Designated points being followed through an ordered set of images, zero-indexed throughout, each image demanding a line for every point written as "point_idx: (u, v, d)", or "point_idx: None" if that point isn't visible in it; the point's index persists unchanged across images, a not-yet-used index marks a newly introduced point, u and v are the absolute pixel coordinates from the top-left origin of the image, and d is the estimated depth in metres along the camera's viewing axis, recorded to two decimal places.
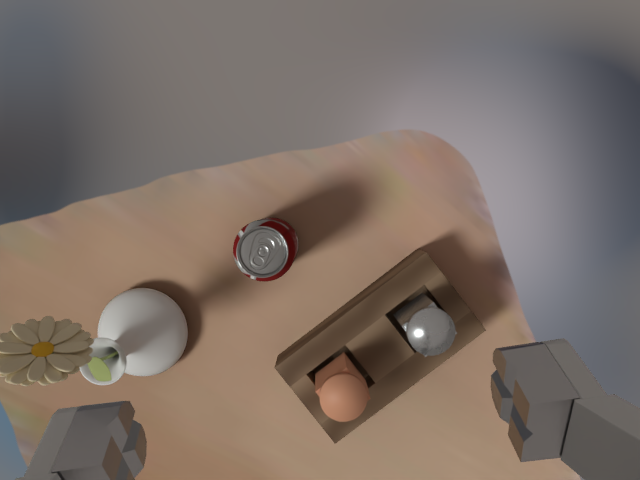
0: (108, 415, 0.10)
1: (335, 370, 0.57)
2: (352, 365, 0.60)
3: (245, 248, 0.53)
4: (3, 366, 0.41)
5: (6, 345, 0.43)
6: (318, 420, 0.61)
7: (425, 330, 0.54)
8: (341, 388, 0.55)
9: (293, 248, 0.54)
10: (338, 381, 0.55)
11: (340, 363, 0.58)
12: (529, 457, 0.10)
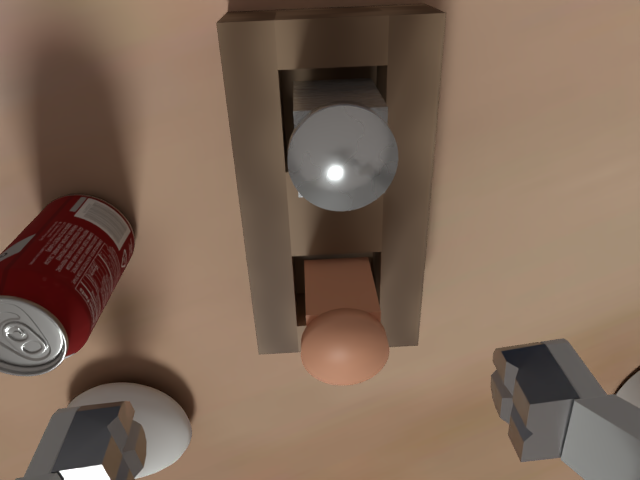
0: (108, 415, 0.10)
1: None
2: (328, 268, 0.33)
3: None
4: None
5: None
6: None
7: (331, 169, 0.24)
8: (327, 347, 0.29)
9: (43, 280, 0.27)
10: (313, 346, 0.29)
11: None
12: (529, 457, 0.10)
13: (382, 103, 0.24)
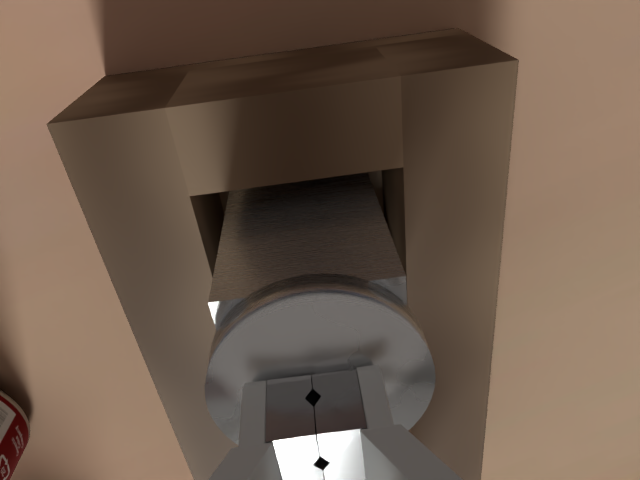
0: (302, 388, 0.10)
1: None
2: None
3: None
4: None
5: None
6: None
7: None
8: None
9: None
10: None
11: None
12: None
13: (393, 260, 0.12)
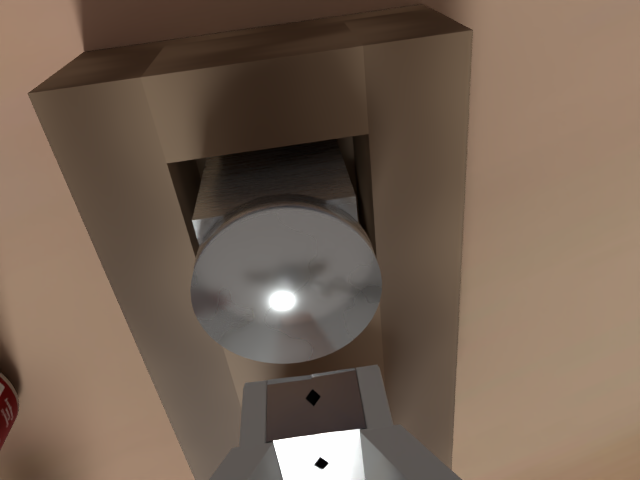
0: (302, 387, 0.10)
1: None
2: None
3: None
4: None
5: None
6: None
7: (270, 308, 0.14)
8: None
9: None
10: None
11: None
12: None
13: (346, 186, 0.14)
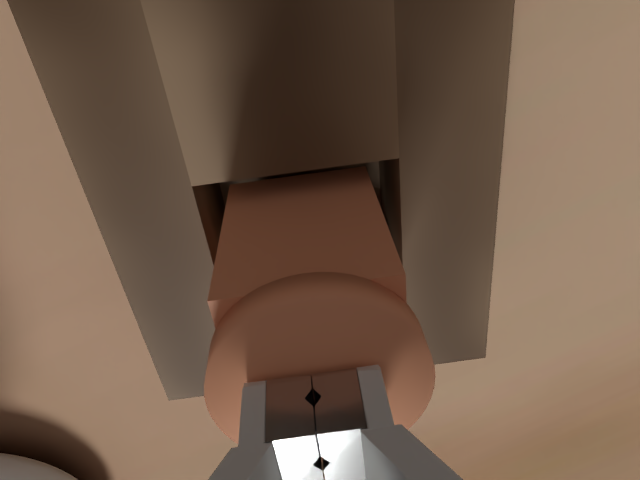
0: (301, 388, 0.10)
1: None
2: (279, 195, 0.15)
3: None
4: None
5: None
6: None
7: None
8: None
9: None
10: (233, 381, 0.11)
11: None
12: None
13: None
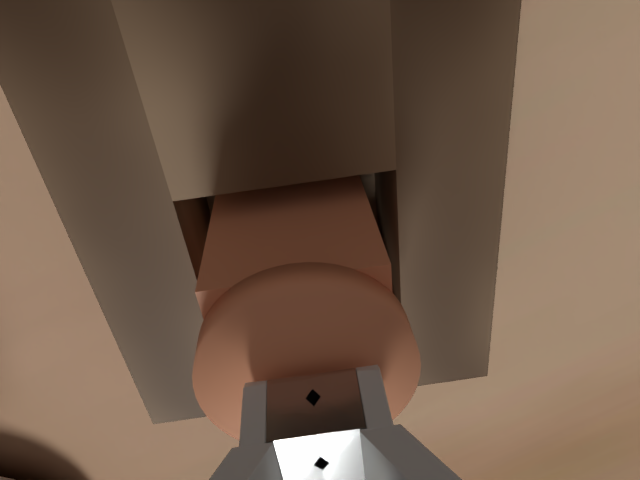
0: (302, 388, 0.10)
1: None
2: (267, 188, 0.15)
3: None
4: None
5: None
6: None
7: None
8: (260, 371, 0.11)
9: None
10: (221, 370, 0.11)
11: None
12: None
13: None
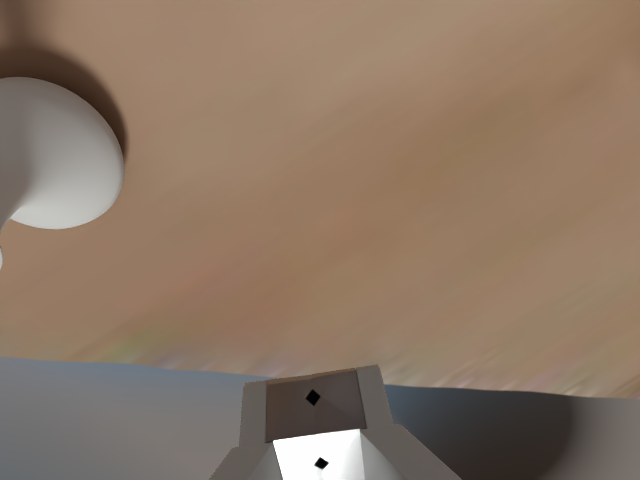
0: (302, 388, 0.10)
1: None
2: None
3: None
4: None
5: None
6: None
7: None
8: None
9: None
10: None
11: None
12: None
13: None
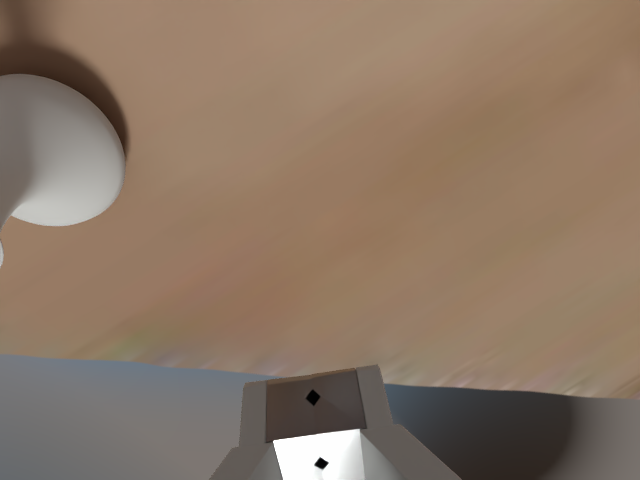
0: (302, 388, 0.10)
1: None
2: None
3: None
4: None
5: None
6: None
7: None
8: None
9: None
10: None
11: None
12: None
13: None
